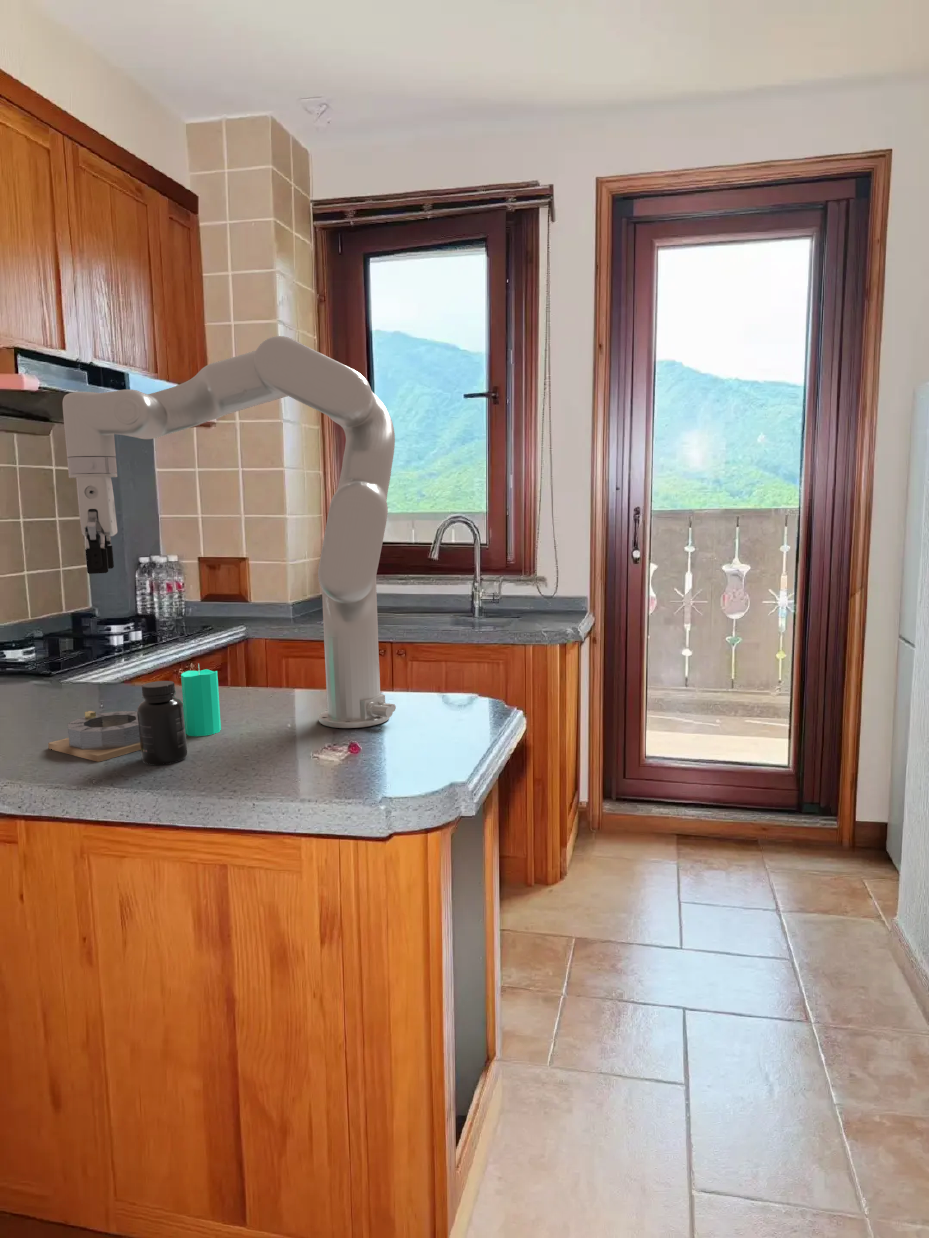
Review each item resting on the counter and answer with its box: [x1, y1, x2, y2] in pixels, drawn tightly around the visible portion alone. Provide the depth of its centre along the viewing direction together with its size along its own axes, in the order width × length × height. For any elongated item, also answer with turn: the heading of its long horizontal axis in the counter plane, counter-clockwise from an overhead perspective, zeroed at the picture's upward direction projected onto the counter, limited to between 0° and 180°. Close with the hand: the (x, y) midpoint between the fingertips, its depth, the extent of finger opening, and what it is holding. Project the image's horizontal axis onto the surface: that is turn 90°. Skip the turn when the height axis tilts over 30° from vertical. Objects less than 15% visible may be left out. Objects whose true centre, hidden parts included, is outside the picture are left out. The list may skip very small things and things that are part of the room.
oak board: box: [47, 737, 141, 763], centre depth 145 cm, size 14×14×1 cm
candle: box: [180, 663, 222, 737], centre depth 151 cm, size 6×6×12 cm
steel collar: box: [67, 710, 140, 750], centre depth 145 cm, size 13×13×4 cm
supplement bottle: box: [136, 680, 188, 766], centre depth 136 cm, size 7×7×12 cm
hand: (101, 570), depth 149 cm, fingers open, 9 cm apart
